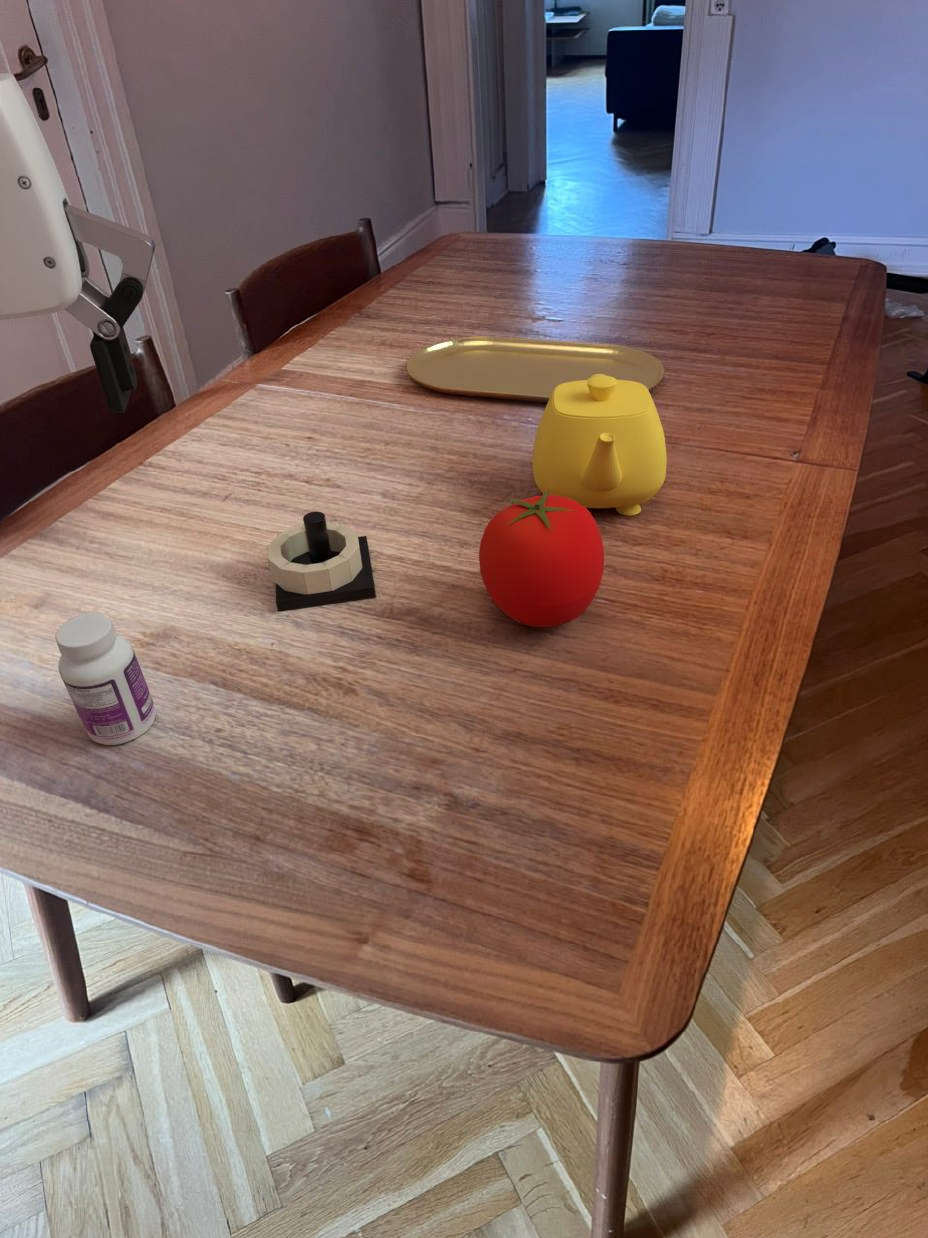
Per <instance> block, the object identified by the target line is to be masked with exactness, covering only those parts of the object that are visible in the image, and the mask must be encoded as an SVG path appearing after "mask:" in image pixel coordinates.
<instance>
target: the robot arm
mask: <svg viewBox="0 0 928 1238" xmlns="http://www.w3.org/2000/svg"><path fill="white" fill-rule="evenodd" d="M61 178H62V177H61V175H60V173H59V171H58V169H57V165H56V163H55V160H54V158H53V156H52V153H51V151H50V148H49V145H48V144H47V142H46V140H45V137H44V134H43V133H42V130H41V128H40V126H39V124H38V121H37V119H36V117H35V115H34V113H33V110H32V108H31V106H30V104H29V102H28V101H27V99H26V96H25V94H24V92H23V90H22V89H21V87H20V85H19V83H18V81H17V79H16V77H15V75H14V74H13V73H8V72H6V73H0V321H5V320H13V319H24V318H31V317H37V316H39V317H40V316H45V315H51V314H55V313H59V312H61V311H63V310H64V311H66V312H67V313H68V314H70V315H71V316H72V317H74V318H75V319H76V320H77V321H78V322H80V323H81V324H82V325H84V326H85V327H87V329H89V330H90V331H92V334H93V336H92V338H91V341H90V343H89V348H90V352H91V357H92V358H93V361H94V366H95V368H96V371H97V374H98V377H99V380H100V384H101V387H102V391H103V394H104V397H105V400H106V403H107V406H108V410H109V411H110V412H113V413H114V414H119V413H125V412H126V409H127V406H128V403H129V400H130V397H131V391H136V390H137V387H138V380H137V379H138V377H137V373H136V369H135V367H134V363H133V359H132V356H131V352H130V349H129V346H128V342H127V338H126V335H125V332H124V326H125V325H126V323H127V322H128V320H129V319H130V317H131V316H132V315H133V313H134V311H135V310H136V309H137V306H138V305H139V304H140V302H141V300H142V299H143V296H144V293H145V290H146V286H147V283H148V278H149V275H150V270H151V266H152V263H153V258H154V253H155V251H156V250H155V248H156V244H155V240H154V239H153V238H152V236H150V235H148V234H146V233H144V232H141V231H139V230H135V229H133V228H131V227H128V226H126V225H123V224H120V223H118V222H115V221H112V220H110V219H107V218H105V217H102V216H99V215H97V214H94V213H92V212H89V211H87V210H84V209H81V208H79V207H76V206H74V205H72V204H71V202H70V198H69V196H68V194H67V192H66V188H65V185H64V183H63V181H62V179H61ZM87 245H88V246H89V247H92V248H95V249H98V250H100V251H103V252H106V253H109V254H111V255H114V256H116V257H117V258H119V260H120V261H121V263H122V270H121V275H120V280H119V282H118V283H117V285H116V286H115V287H114V289H113V291H112V292H111V294H110V293H109V292H107V291H106V290H105V289H103V288H102V287H101V286H99V285H98V284H97V283H96V282H94V280H92V279H91V278H89V277H90V269H91V268H90V261H89V257H88V253H87V249H86V246H87Z"/></svg>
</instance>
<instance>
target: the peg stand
mask: <svg viewBox="0 0 928 1238" xmlns="http://www.w3.org/2000/svg"><path fill="white" fill-rule="evenodd" d="M302 522H303V524H304V527H305V532H306V537H307V542H308V547H309V552H306V553H304V554H302V555H300V556H298V557H295V558H293V560H292V561H291V563H297V564H303V565H309V564H317V563H323V562H325V561H327V560H329V559H332V558H334V557H336V556H338V555H339V554H340V552H336V551H331V547H330V542H329V536H328V530H327V525H326V522H327V520H326V515H325V513H324V512H321V511H310V512H307V513H305V515H304V516H303V517H302ZM358 541H359V548H360V554H361V561H362V569H361V570H360V572H359V573H358V574H357V576H356V577H355V578H354V579H353V581H352V582H350V583H348V584H346V585H344V586H341V587H339V588H337V589H335V590H333V591H329V592H322V593H315V594H309V595H308V594H307V595H305V594H300V593H294V592H289V591H286V590H284V589H283V588H281V587H280V586H279V585H278V584H276V583H275V605H276V609H277V612H285V611H291V610H298V609H304V608H305V609H306V608H312V607H319V606H325V605H332V604H339V603H347V602H352V601H359V600H366V599H373V598H376V597H377V594H376V588H375V587H376V586H375V580H374V575H373V569H372V562H371V556H370V549H369V543H368V536H367V535H361V536H358Z"/></svg>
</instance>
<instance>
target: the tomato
mask: <svg viewBox="0 0 928 1238" xmlns="http://www.w3.org/2000/svg"><path fill="white" fill-rule="evenodd" d="M548 492H549V490H548V491H547V492H546V493H545V494H544V495H543V494H542V495H535V496H531V497H528V498H525V499H521V500H516V499H510V498H504V499H506V500H507V501H509V502H512V503H513V504H511V505H509V506H507V507H505V508H503V509H501V510H499V511H498V512H497V513H495V514H494V515H493V517H492V518H491V519H490V520H489V522H488V523H487V525H486V527H485V529H484V531H483V533H482V536H481V539H480V543H479V548H478V562H479V572H480V576H481V580H482V582H483V585H484V588H485V590H486V592H487V593H488V595H489V597H490V598H491V600H492V601H493V603H494V604H495V606H496V607H498V609H500V610H501V611H502V612H503V613H504V614H505V615H506V616H508V617H509V618H510V619H512V620H514V621H516V622H518V623H519V624H523V625H526V626H528V627H529V626H530V627H534V628H552V627H553V628H554V627H557V626H561V625H563V624H566V623H569V622H572V621H574V620H575V619H577V618H578V617H580V616H581V615H582V614H583V613H584V612H585V611H587V609H588V608H589V606H590V605H591V604H592V602H593V600H594V598H595V596H596V595H597V593H598V590H599V588H600V585H601V583H602V579H603V574H604V568H605V549H604V543H603V538H602V535H601V532H600V529H599V527H598V524H597V522H596V520H595V518H594V517H593V515H592V513H591V512H590V511H589V510H588V508H585V507H584V506H582V505H581V504H579V503H577V502H576V501H574V500H572V499H569V498H566V497H561V496H555V495H548Z"/></svg>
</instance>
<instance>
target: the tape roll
mask: <svg viewBox="0 0 928 1238" xmlns="http://www.w3.org/2000/svg"><path fill="white" fill-rule="evenodd" d="M326 525H327V530H328V536H329V542H330V547H331V551H336V552H340V554H339V555H338V556H336V557H334V558H332V559H329V560H327V561H325V562H323V563H317V564H309V565H303V564H297V563H291V561H292V560H293V558H295V557H298V556H300V555H302V554H304V553H306V552H309V547H308V542H307V537H306V532H305V527H304V523H303V524H298V525H296V526H293V527H292V528H291V527H290V528H289V529H287V530H284V531H282V532H280V533H279V534H278V535H276V537H275V538H274V539H273V540H272V541H271V542H270V543H269V544H268V546H267V561H268V565H269V570H270V574H271V579H272V581H273V582H274V583H275V585H276V584H278V585H279V586H280V587H281V588H283V589H284V590H286V591H289V592H294V593H300V594H305V595H307V594H308V595H309V594H315V593H322V592H329V591H333V590H335V589H337V588H339V587H341V586H344V585H346V584H348V583H350V582H352V581H353V579H354V578H355V577H356V576H357V574H358V573H359V572H360V570H361V569H362V561H361V554H360V548H359V541H358V537H359V535H358V533H357V532H356V531H354V530H352V529H351V528H349V527H348V526H347V525H345V524H343V523H337V522H331V521H326Z"/></svg>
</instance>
